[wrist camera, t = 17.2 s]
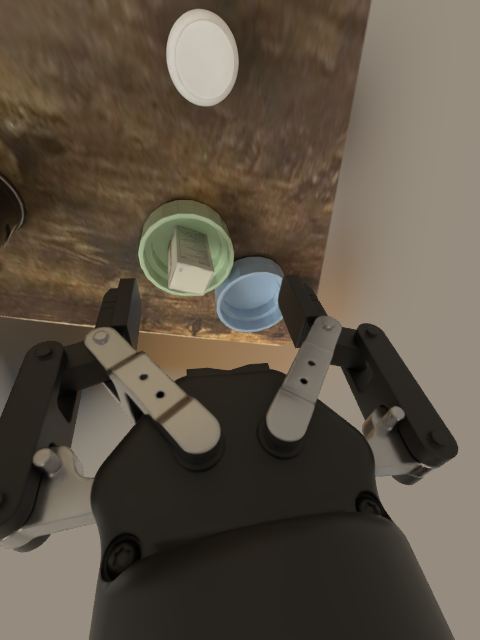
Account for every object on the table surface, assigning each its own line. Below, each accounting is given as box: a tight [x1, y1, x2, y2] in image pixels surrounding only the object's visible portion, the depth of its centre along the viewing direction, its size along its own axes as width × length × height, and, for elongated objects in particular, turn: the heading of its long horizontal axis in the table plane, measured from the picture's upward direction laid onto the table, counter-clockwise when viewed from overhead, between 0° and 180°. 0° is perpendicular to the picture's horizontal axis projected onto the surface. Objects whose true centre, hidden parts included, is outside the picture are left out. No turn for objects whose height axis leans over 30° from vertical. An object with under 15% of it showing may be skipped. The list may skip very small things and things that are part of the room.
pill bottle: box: [166, 9, 239, 106], centre depth 26 cm, size 6×6×11 cm
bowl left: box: [138, 200, 234, 296], centre depth 42 cm, size 13×13×5 cm
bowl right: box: [214, 257, 285, 332], centre depth 50 cm, size 13×13×5 cm
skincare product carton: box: [168, 225, 215, 296], centre depth 40 cm, size 5×4×10 cm
